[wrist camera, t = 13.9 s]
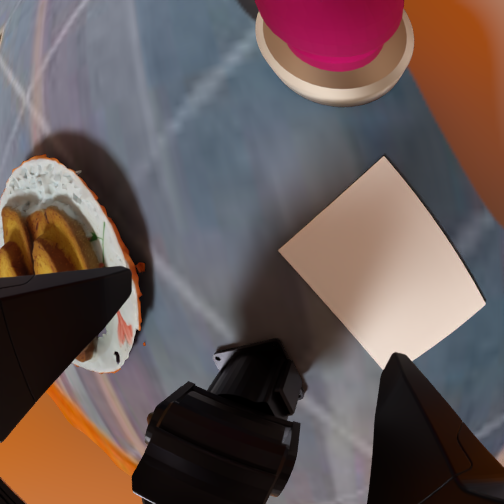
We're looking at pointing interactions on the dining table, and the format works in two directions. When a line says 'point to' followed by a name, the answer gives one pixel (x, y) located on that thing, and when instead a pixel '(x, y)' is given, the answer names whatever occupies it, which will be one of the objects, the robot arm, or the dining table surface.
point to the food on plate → (66, 245)
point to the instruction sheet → (385, 267)
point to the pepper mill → (333, 29)
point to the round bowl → (339, 83)
